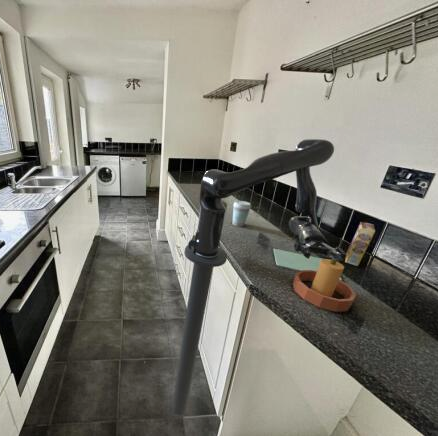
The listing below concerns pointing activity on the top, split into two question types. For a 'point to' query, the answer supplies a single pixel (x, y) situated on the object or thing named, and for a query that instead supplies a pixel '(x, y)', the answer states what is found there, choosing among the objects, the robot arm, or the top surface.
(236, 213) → the coffee cup
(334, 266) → the orange cylinder
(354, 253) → the candy box
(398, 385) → the top surface
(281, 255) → the towel
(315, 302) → the ring
